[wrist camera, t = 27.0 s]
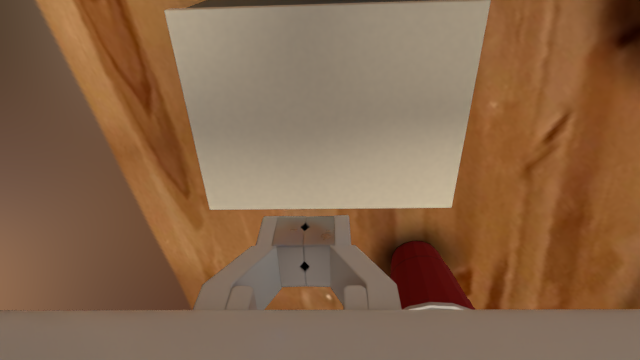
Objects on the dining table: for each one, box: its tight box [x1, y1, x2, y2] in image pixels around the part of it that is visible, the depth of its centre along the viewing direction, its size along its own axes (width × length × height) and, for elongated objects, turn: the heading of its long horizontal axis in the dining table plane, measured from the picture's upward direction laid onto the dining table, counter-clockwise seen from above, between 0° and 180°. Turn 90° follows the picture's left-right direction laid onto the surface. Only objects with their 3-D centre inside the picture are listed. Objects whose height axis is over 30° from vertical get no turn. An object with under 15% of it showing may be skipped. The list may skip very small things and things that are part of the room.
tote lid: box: [164, 0, 490, 210], centre depth 22 cm, size 16×12×1 cm
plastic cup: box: [390, 241, 476, 310], centre depth 42 cm, size 11×11×12 cm
